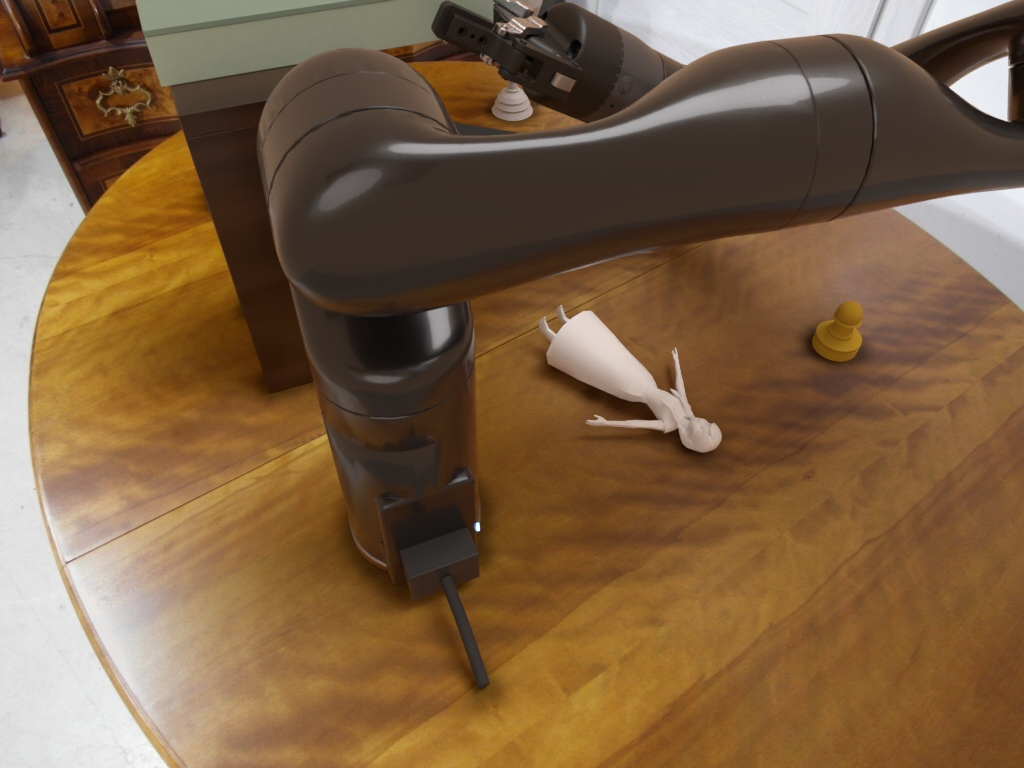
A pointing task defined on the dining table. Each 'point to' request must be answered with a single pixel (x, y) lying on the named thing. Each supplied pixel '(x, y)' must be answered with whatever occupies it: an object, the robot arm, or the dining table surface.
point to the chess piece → (840, 333)
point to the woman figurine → (624, 378)
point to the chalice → (515, 90)
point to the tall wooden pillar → (244, 211)
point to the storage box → (277, 31)
